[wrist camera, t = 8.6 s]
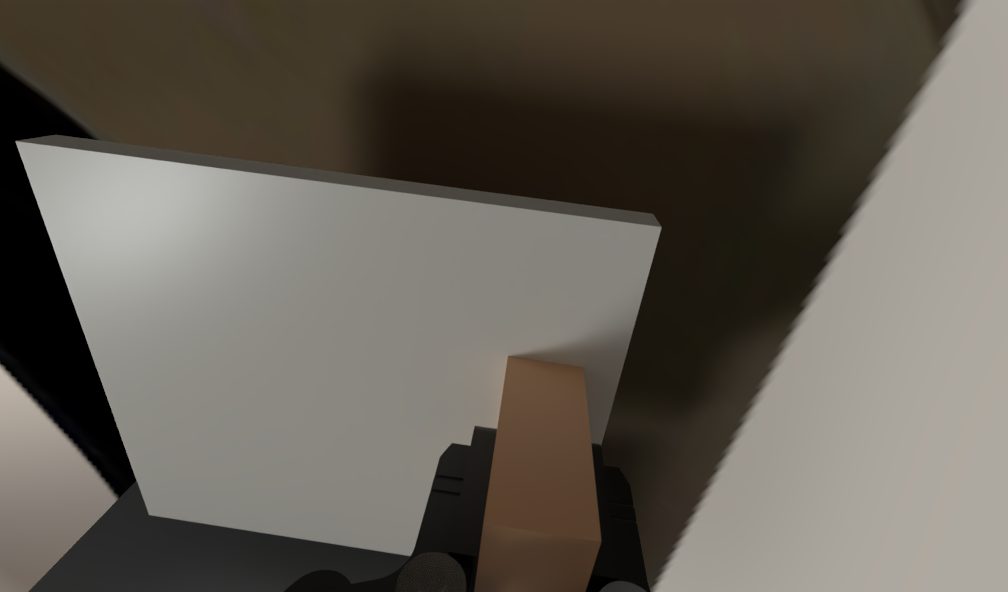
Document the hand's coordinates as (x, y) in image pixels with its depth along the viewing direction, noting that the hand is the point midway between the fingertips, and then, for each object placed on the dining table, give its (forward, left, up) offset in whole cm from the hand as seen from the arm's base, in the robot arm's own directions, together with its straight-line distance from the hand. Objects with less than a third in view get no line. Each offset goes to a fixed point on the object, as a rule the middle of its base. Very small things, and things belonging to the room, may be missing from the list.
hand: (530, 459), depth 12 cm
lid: (0, -6, -3) cm, 6 cm away
